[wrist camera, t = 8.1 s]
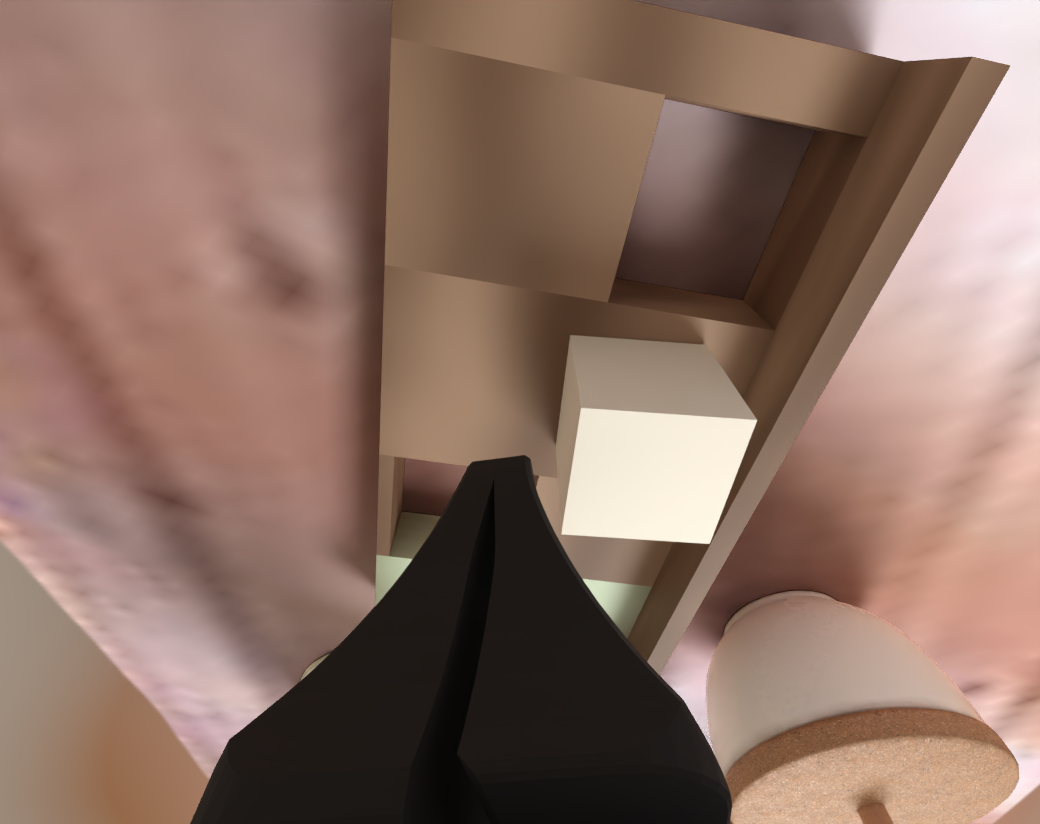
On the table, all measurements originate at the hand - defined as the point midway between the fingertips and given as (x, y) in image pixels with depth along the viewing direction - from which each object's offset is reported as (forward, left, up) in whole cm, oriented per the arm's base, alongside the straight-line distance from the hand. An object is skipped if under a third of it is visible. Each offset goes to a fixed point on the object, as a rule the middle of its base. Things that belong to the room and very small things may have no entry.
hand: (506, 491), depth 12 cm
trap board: (-2, +2, -7) cm, 8 cm away
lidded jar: (-17, +13, -8) cm, 23 cm away
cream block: (-4, 0, -5) cm, 6 cm away
